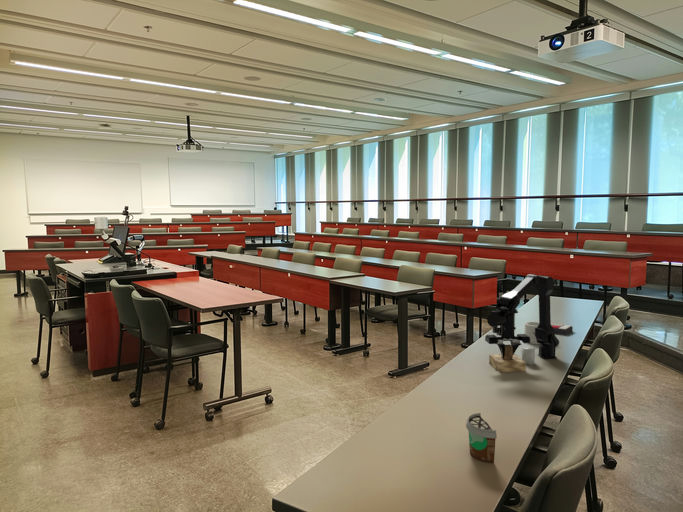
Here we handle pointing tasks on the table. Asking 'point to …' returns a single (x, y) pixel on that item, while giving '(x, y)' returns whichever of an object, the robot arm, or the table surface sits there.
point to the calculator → (562, 329)
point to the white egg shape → (528, 355)
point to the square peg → (508, 352)
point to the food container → (481, 439)
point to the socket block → (507, 363)
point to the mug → (531, 331)
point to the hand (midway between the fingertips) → (507, 357)
